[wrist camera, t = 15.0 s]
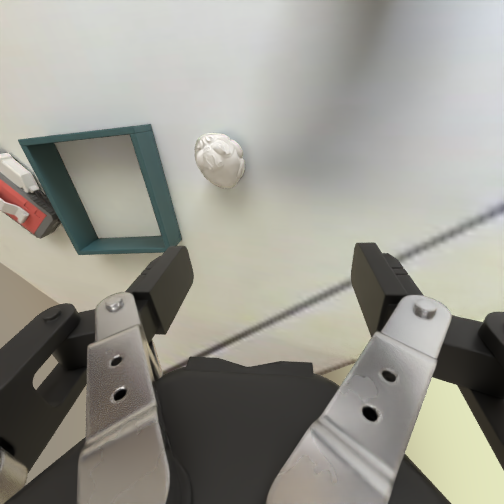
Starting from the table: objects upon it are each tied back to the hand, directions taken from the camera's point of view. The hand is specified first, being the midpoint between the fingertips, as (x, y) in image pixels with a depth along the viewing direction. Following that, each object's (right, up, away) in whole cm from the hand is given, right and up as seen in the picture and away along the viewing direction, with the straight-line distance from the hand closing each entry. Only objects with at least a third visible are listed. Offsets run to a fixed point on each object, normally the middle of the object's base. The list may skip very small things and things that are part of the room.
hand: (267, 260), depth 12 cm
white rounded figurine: (-4, +14, +23) cm, 27 cm away
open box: (-22, +10, +27) cm, 36 cm away
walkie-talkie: (-40, +12, +28) cm, 50 cm away
